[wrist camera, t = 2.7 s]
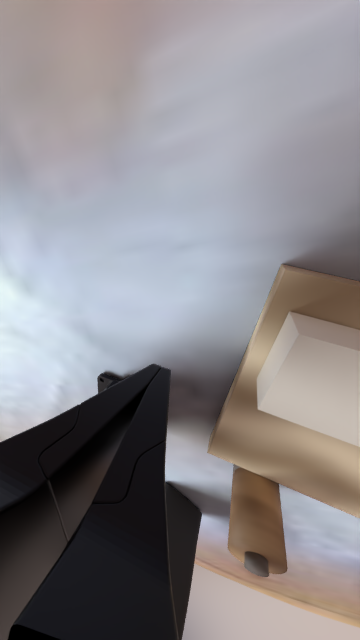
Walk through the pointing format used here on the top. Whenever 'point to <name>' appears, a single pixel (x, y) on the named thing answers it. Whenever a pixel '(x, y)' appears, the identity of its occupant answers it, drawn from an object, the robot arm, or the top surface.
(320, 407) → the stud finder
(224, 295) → the top surface
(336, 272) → the top surface
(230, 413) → the plank
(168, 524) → the battery charger
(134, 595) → the robot arm
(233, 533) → the brown knobbed cylinder
